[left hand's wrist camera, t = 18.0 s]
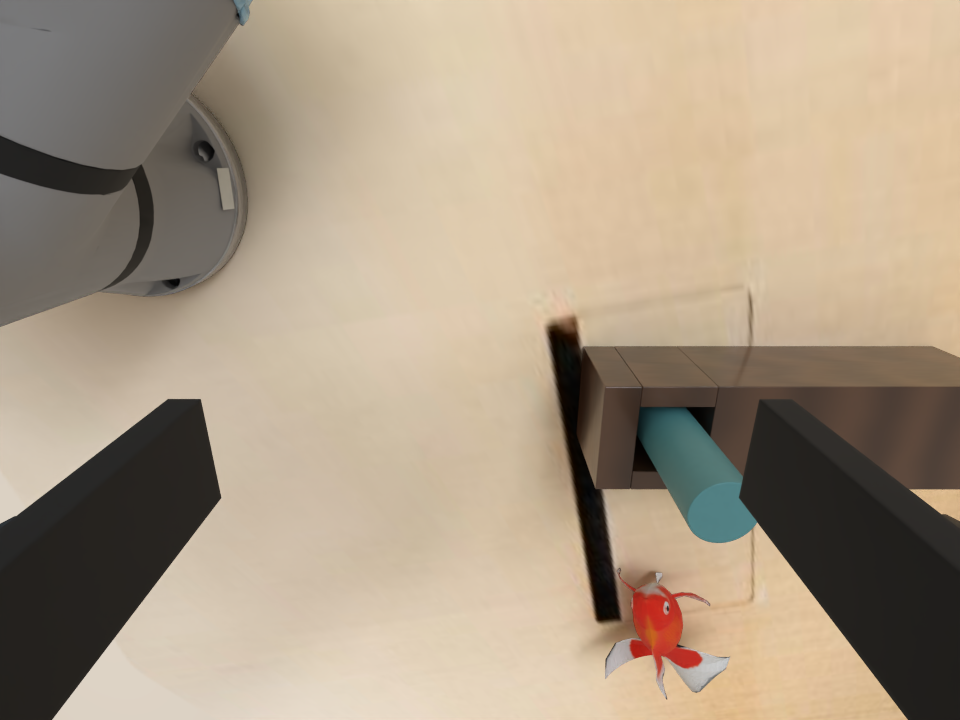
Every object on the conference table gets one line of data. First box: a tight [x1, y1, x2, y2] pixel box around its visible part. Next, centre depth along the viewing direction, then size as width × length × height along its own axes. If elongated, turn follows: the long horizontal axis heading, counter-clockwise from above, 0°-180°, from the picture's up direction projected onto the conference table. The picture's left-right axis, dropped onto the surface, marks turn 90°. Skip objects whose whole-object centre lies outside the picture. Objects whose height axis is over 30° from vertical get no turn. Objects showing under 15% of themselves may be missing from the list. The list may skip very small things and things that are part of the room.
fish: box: [605, 568, 730, 699], centre depth 48 cm, size 11×16×10 cm
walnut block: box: [577, 347, 960, 489], centre depth 40 cm, size 28×8×8 cm, turn 90°
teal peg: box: [637, 407, 757, 543], centre depth 36 cm, size 4×4×15 cm
